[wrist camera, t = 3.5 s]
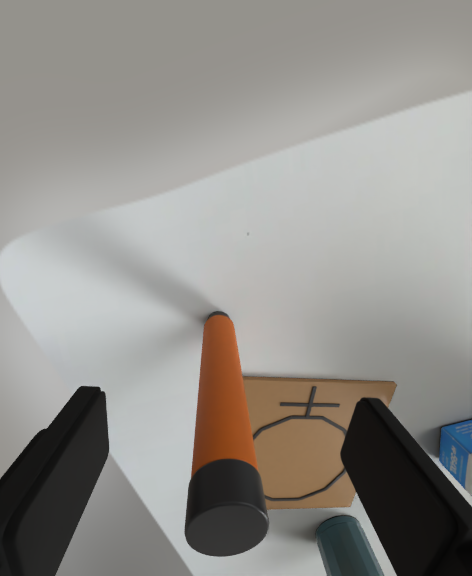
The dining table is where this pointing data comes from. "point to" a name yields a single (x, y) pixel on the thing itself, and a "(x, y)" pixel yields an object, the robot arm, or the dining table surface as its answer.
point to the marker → (223, 454)
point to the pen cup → (346, 548)
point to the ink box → (458, 452)
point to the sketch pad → (305, 437)
